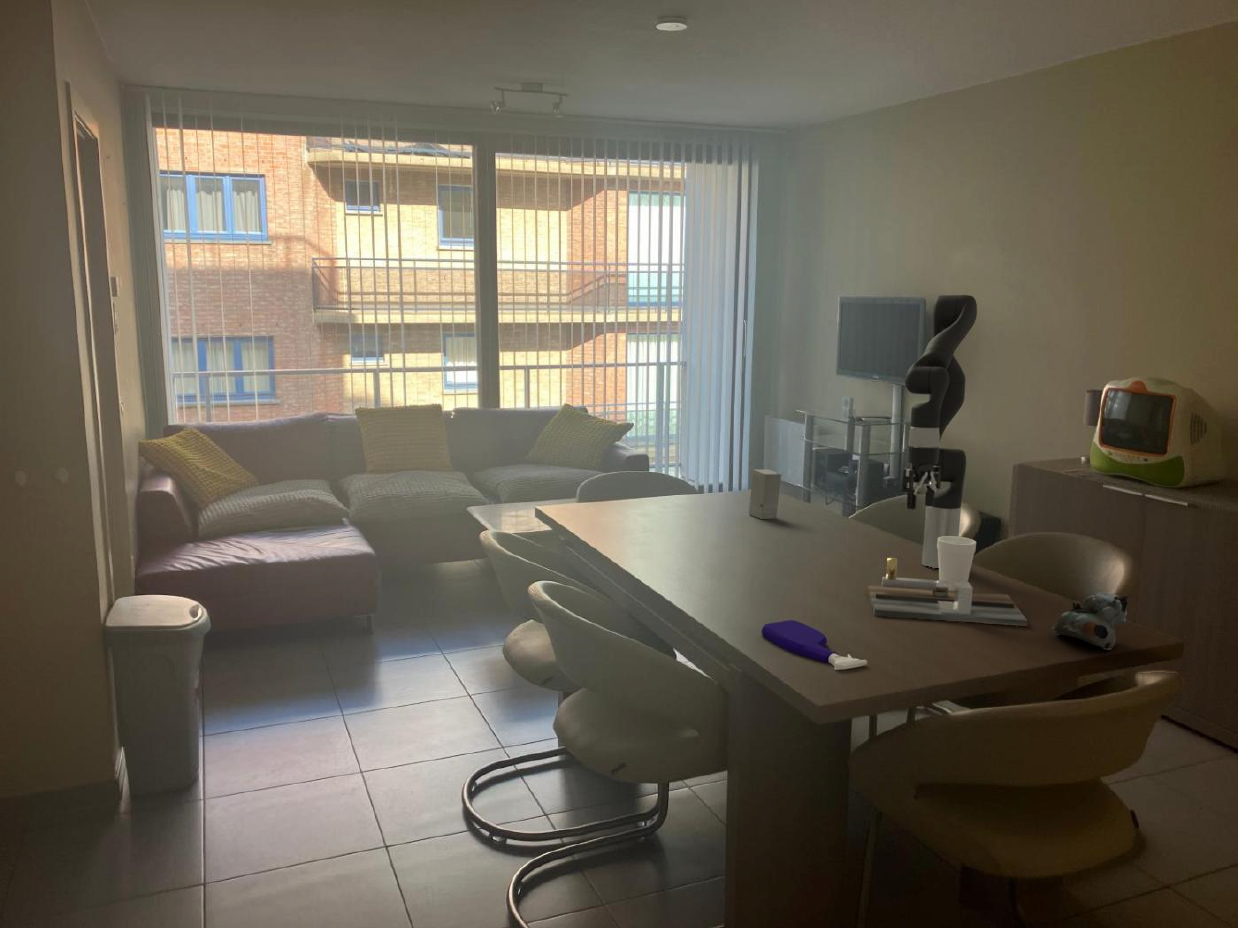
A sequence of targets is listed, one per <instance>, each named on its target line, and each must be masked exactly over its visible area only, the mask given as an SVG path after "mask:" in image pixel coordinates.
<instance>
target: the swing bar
mask: <svg viewBox="0 0 1238 928" xmlns="http://www.w3.org/2000/svg"><path fill="white" fill-rule="evenodd" d="M886 559H887V560H886V561H887V562H886V572H885V573H886V574H885V576H882V577H881V586H883V587H891V588H905V589H920V590H934V591H940V592H947V591H948V587H949V582H948V581H945V580H939V579H925V578H911V577H910V578H908V577H897V570H898V558H896V557H887V558H886Z"/></svg>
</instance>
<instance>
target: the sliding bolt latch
mask: <svg viewBox="0 0 1238 928" xmlns="http://www.w3.org/2000/svg"><path fill="white" fill-rule="evenodd" d="M867 590H868V591H867V593H868V597H870V598H869V602H870V601H871V602H870V605H871V604H872V605H871V608H873V609H872V612H873V615H875V616H874V617H884V616H887V617H888V618H900V619H911V618H918V619H917V620H924V619H940V620H956V621H958V620H962V621H979V622H995V623H1006V624H1007V623H1008V624H1018V625H1027V626H1028V619H1027V618H1026V617H1025V615H1024V613H1023V612H1022V611H1021V610H1020V609H1019V608H1018V606H1017V605H1016V604H1015V603H1014V601H1013V600H1012V598H1011V597H1010V596H1009V594H1001V593H985V592H972V603H971V615H958V614H945V613H940V611H939V609H938V607H937V601H947V602H954V595H955V591H947V592H940V591H934V590H920V589H905V588H891V587H883V586H882V585H873V584H872V585H871V584H867ZM887 617H886V618H887Z"/></svg>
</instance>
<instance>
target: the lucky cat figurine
mask: <svg viewBox="0 0 1238 928" xmlns="http://www.w3.org/2000/svg"><path fill="white" fill-rule="evenodd" d="M1127 600H1128V595H1122V596H1118V595H1117V594H1114V593H1111V592H1107V591H1106V592H1105V591H1104V592H1101V591H1099V592H1098V593H1097V592H1096V593H1095V594H1094V595H1093V594H1092V595H1090V596H1087V597H1086V598H1085V599H1084V600H1083V601H1082V605H1081V602H1080V601H1079V600H1077V599H1076V600H1074V602H1072V604H1071V606H1072V609H1070V610H1069V611H1066V612H1064V613H1062V614H1061V615H1060V616H1059V617H1058V620H1057V622H1056V625H1055V626H1052V627H1051V628H1050V630H1051V631H1052V632H1054V633H1055V634H1056V633H1057V634H1061V635H1060V636H1067V637H1072V638H1075V637H1076V639H1077V638H1078V640H1080V641H1082V642H1085V643H1088V644H1091V645H1093V646H1094V647H1095V646H1096V647H1098V648H1100V647H1101V649H1102V648H1106V649H1107V648H1113V649H1114V647H1115V645H1116V640H1117V635H1116V634H1117V633H1118V631H1119V630H1120V629H1121V628H1122V626H1124V625H1125V624H1126V622H1127V619H1126V617H1127V615H1128V611H1127V606H1128V601H1127ZM1057 634H1056V635H1057Z"/></svg>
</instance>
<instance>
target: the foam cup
mask: <svg viewBox="0 0 1238 928" xmlns="http://www.w3.org/2000/svg"><path fill="white" fill-rule="evenodd" d="M976 547H977V541H976V540H974V539H972V538H968V537H963V536H959V537H957V536H942V537H938V540H937V548H938V564H939V569H938V578H939V579H938V580H945V581H948V582H949V587H948V590H949V591H955V583H956V582H969V578H970V572H971V568H972V563H973V559H974V555H975V553H976Z"/></svg>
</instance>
